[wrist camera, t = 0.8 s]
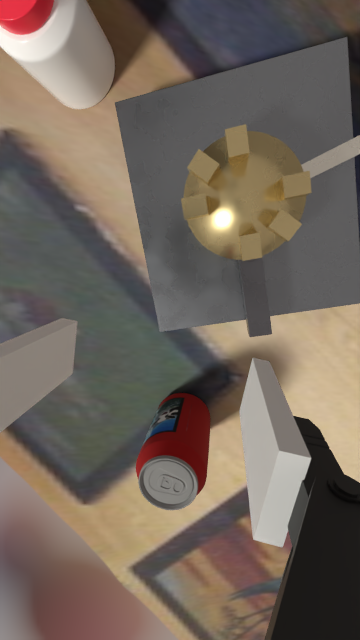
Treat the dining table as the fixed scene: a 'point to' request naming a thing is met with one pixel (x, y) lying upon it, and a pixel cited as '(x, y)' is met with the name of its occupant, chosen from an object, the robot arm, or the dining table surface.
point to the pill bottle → (59, 48)
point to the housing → (261, 116)
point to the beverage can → (175, 452)
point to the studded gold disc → (246, 207)
